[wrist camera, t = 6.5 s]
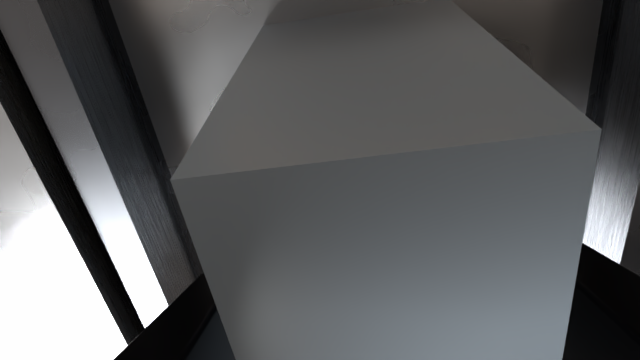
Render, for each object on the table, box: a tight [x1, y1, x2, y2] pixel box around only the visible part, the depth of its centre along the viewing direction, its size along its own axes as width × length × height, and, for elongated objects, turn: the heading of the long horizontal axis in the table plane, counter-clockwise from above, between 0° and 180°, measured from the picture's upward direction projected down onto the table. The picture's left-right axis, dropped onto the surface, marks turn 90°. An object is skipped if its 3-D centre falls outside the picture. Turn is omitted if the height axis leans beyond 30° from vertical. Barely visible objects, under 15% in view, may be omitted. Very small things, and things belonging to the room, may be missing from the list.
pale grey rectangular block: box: [170, 0, 602, 360], centre depth 8 cm, size 4×8×6 cm, turn 9°
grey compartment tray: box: [0, 0, 640, 360], centre depth 11 cm, size 22×14×3 cm, turn 98°
